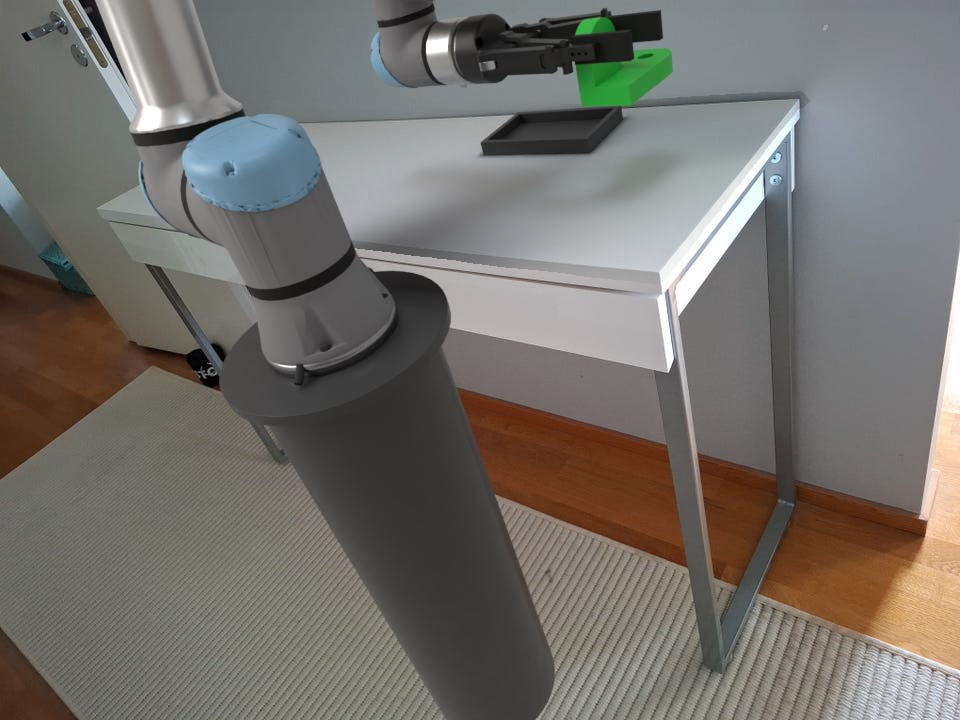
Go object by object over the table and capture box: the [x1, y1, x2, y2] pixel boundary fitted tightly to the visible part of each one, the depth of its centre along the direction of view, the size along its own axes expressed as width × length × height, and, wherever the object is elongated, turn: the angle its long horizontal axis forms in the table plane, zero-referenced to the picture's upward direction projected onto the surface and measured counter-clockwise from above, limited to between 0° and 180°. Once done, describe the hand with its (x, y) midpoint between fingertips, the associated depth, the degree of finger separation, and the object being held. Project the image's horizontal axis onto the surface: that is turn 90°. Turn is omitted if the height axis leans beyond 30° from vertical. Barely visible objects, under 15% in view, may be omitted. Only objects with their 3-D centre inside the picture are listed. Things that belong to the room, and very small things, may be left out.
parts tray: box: [480, 106, 624, 156], centre depth 98 cm, size 12×18×2 cm, turn 58°
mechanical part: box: [574, 17, 674, 107], centre depth 72 cm, size 12×6×8 cm, turn 142°
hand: (645, 35), depth 67 cm, fingers closed on mechanical part, 5 cm apart
